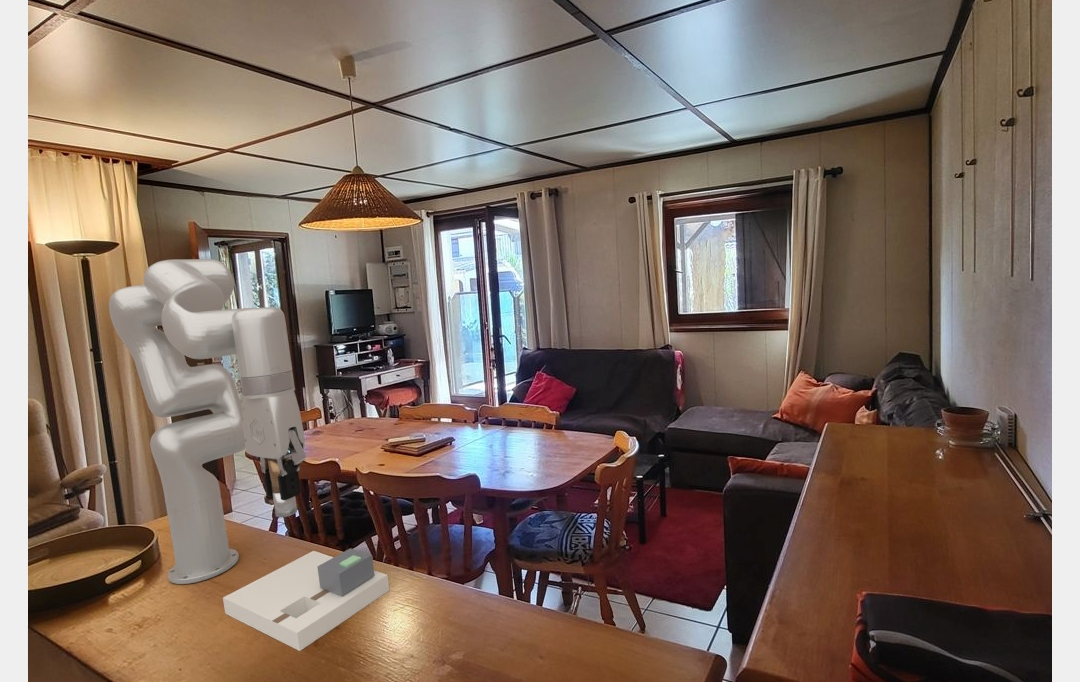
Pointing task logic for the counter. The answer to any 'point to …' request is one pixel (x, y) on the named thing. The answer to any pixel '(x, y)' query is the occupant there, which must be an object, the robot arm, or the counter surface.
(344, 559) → the block
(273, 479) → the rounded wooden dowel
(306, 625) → the white flat rectangular board
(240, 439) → the robot arm
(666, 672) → the counter surface
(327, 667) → the counter surface
